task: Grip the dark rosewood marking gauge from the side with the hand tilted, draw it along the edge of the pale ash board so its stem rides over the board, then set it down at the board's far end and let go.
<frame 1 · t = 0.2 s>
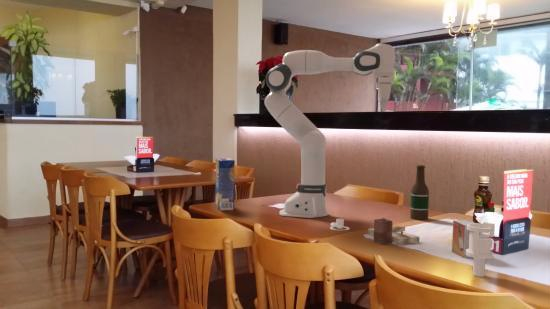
hand: (383, 111, 213), 48 cm above the table, tool pointing down, fingers open, 8 cm apart
white curved piece: (343, 228, 193), on the table
small box: (465, 255, 153), on the table
juice carton: (224, 208, 235), on the table
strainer: (478, 275, 132), on the table
marking gauge: (382, 242, 168), on the table
ash board: (392, 237, 175), on the table
beer bottle: (419, 218, 213), on the table
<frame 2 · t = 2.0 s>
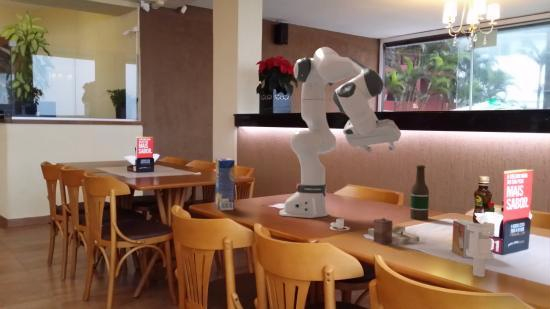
hand: (381, 150, 177), 32 cm above the table, tool tilted 45°, fingers open, 8 cm apart
nothing on the table moved.
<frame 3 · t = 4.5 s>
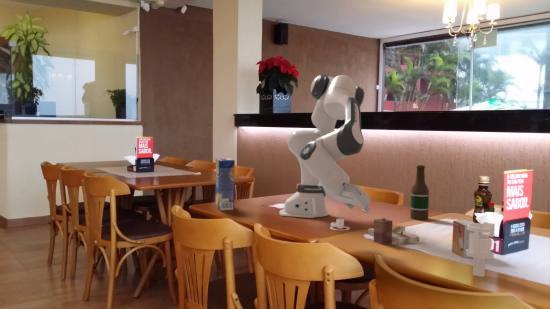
hand: (359, 209, 163), 12 cm above the table, tool tilted 45°, fingers open, 8 cm apart
nothing on the table moved.
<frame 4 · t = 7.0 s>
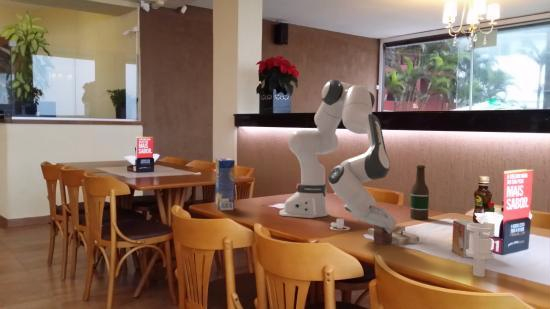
hand: (384, 230, 168), 4 cm above the table, tool tilted 45°, fingers closed on marking gauge, 4 cm apart
marking gauge: (382, 242, 168), on the table, touching gripper
everything else where it was.
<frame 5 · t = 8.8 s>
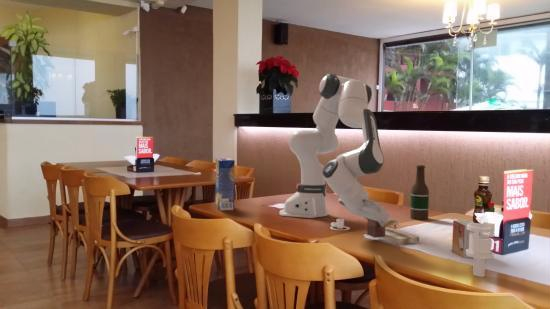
hand: (377, 223, 171), 6 cm above the table, tool tilted 45°, fingers closed on marking gauge, 4 cm apart
marking gauge: (376, 235, 171), point 2 cm above the table, touching gripper
everything else where it was.
when the fingers open (5 cm above the table, at t = 10.6 s): marking gauge stays where it is, on the table.
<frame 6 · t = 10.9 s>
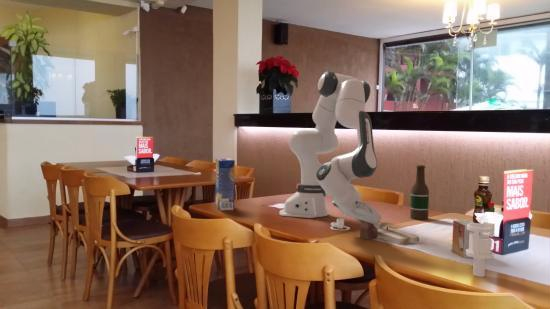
hand: (370, 224, 175), 5 cm above the table, tool tilted 45°, fingers open, 7 cm apart
marking gauge: (368, 237, 176), on the table
everything else where it was.
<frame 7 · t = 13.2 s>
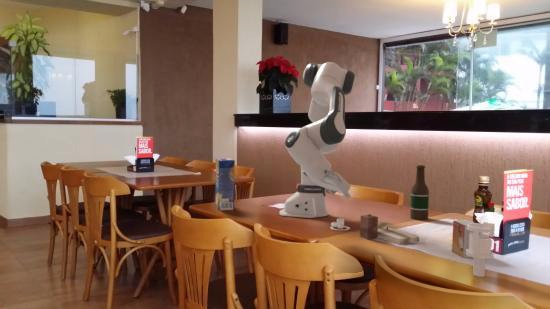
hand: (341, 195, 173), 16 cm above the table, tool tilted 45°, fingers open, 8 cm apart
nothing on the table moved.
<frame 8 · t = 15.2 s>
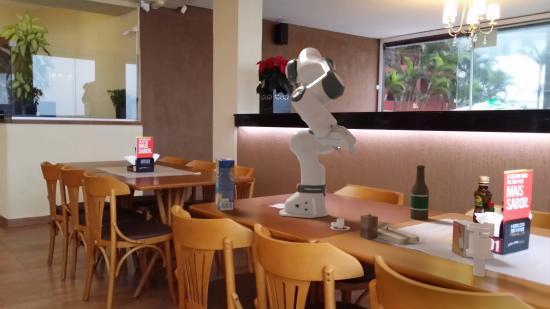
hand: (346, 152, 175), 31 cm above the table, tool tilted 45°, fingers open, 8 cm apart
nothing on the table moved.
at the end: marking gauge inside the target area (0.1 cm from its centre), on the table; marking gauge tilted 0°; the gripper is holding nothing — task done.
